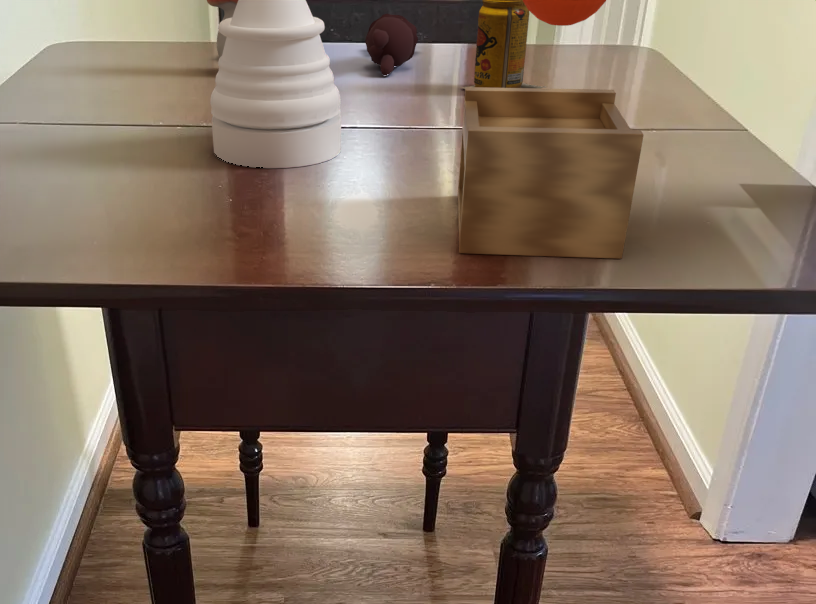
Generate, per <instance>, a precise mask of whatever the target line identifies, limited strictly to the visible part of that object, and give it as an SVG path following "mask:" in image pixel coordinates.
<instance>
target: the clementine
mask: <svg viewBox="0 0 816 604" xmlns="http://www.w3.org/2000/svg"><path fill="white" fill-rule="evenodd" d="M523 2H524V4H525V5H526V7H527V9H528V10H529V13H531V14H532V15H533V16H534V17H535V18H536V19H537V20H539V21H541V22H544V23H546V24H548V25H551V26H558V27H559V26H560V27H562V26H564V27H566V26H567V27H568V26H573V25H575V24H578V23H581V22H583V21H586V20H587V19H589V18H590V17H592V16H593V15H594V14H596V13H597V12H598V11H599V10H600V8H602V6H603V5H604V4H605V3H606V2H607V0H523Z"/></svg>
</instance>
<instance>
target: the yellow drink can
mask: <svg viewBox="0 0 816 604" xmlns="http://www.w3.org/2000/svg"><path fill="white" fill-rule="evenodd" d="M481 1H482V6H481V7H480V9H479V10H478V18H477V34H476V50H475V63H474V76H473V77H474V79H473V84H474V85H470V86H468V85H467V86H463V87H462V86H459V88H460V89H463V90H465V87H486V88H543V89H547V86H543V85H542V86H541V85H536V84H530V83H526V82H524V74H525V73H524V72H525V62H526V54H527V53H526V51H527V43H528V33H529V32H528V30H529V23H530V22H529V20H530V11H529V10H528V9H527V7H526V5H525V4H524V2H523V0H481Z"/></svg>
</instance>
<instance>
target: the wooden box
mask: <svg viewBox="0 0 816 604" xmlns="http://www.w3.org/2000/svg"><path fill="white" fill-rule="evenodd" d="M464 87H465V89H464V98H463V99H464V100H463V111H462V128H461V141H460V142H461V143H460V156H459V170H458V183H457V185H458V186H457V223H458V226H457V227H458V253H459V254H469V255H470V254H471V255H497V256H502V255H503V256H531V257H559V258H589V259H590V258H592V259H619V260H620V259H623V254H624V251H625V250H624V249H625V243H626V238H627V232H628V227H629V220H630V214H631V209H632V203H633V197H634V192H635V186H636V180H637V174H638V169H639V163H640V158H641V152H642V146H643V142H644V136H645V135H644V133H643V131H642V130H641V129H631V128H630V126H629V125H628V122H627V121H626V120H625V118H624V117H623V115H622V113H621V112H620V110H619V108H618V107H617V105H616V104H615V102H616V96H617V93H616V91H615V90H614V89H600V88H599V89H598V88H596V89H595V88H594V89H593V88H592V89H591V88H486V87H469V86H468V87H467V86H464Z"/></svg>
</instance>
